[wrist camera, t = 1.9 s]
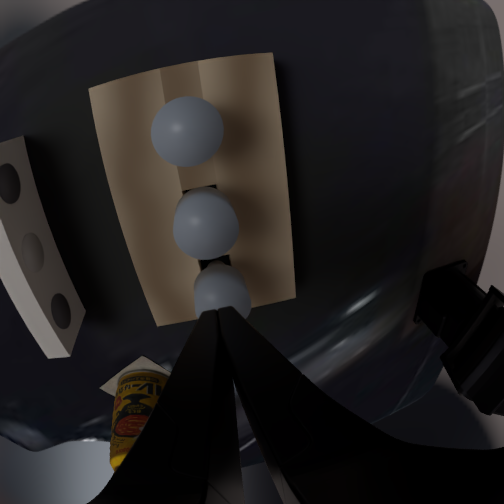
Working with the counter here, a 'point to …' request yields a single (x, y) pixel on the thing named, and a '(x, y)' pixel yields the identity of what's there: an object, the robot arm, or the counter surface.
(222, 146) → the board
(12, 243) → the white flat bar
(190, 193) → the button mid
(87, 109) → the counter surface
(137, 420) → the condiment
